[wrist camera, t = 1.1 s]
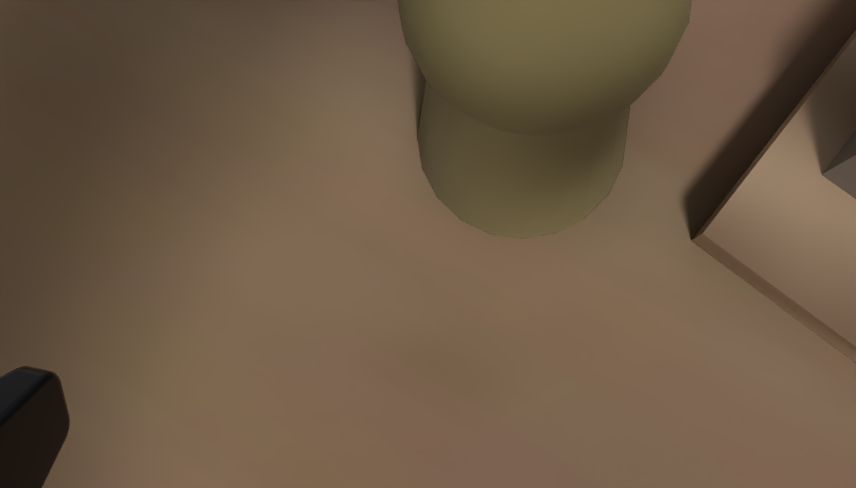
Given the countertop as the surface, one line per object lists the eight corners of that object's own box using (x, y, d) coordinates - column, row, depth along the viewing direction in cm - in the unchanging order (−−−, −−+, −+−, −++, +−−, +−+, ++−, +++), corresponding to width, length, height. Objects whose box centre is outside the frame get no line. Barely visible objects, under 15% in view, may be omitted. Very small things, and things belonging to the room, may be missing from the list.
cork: (499, 280, 23) (510, 201, 12) (377, 116, 24) (286, -92, 13) (669, 156, 23) (828, -31, 12) (541, -2, 24) (584, -301, 13)
